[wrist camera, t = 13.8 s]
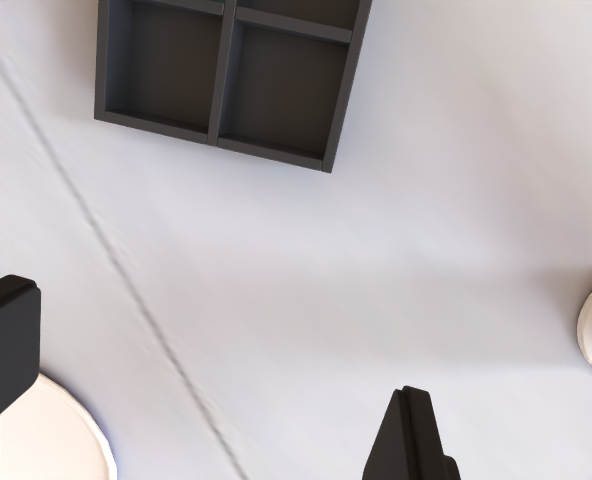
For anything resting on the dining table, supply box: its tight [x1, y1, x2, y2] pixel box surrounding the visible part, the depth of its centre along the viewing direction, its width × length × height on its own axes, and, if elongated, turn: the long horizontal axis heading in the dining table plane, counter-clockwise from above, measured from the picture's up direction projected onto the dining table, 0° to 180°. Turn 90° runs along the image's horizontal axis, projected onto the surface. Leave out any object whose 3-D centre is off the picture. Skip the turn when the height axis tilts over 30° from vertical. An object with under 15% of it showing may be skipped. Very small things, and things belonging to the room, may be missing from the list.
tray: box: [94, 0, 372, 173], centre depth 31 cm, size 18×18×4 cm
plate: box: [0, 372, 117, 480], centre depth 50 cm, size 29×29×1 cm
